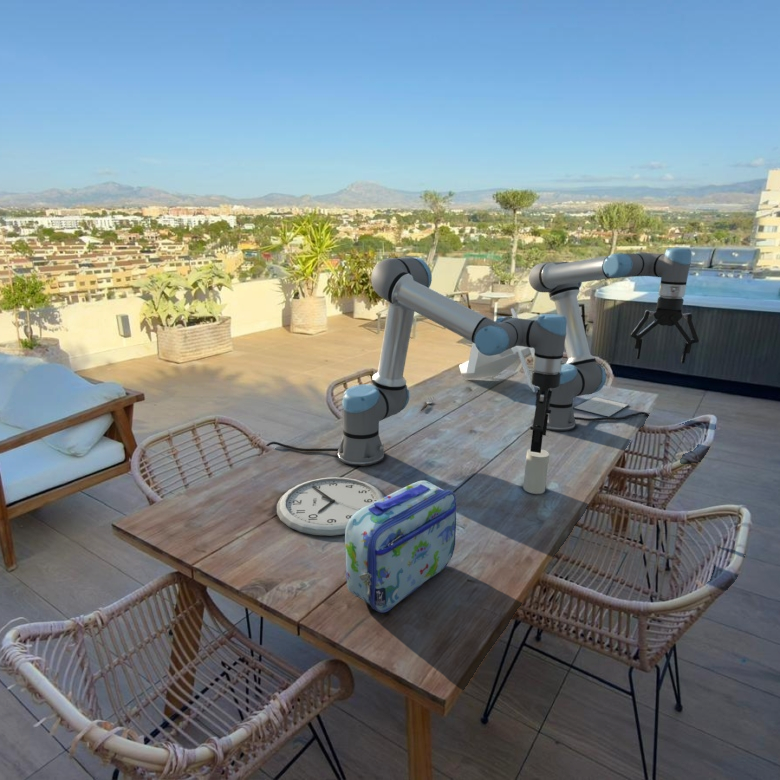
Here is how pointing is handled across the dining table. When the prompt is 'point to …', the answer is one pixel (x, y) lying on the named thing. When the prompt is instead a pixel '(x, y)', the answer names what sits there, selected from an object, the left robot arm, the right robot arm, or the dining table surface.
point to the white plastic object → (496, 361)
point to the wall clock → (325, 504)
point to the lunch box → (399, 543)
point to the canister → (536, 471)
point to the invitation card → (601, 406)
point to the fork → (427, 403)
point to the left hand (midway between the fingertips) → (538, 442)
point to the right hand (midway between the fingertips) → (659, 360)
